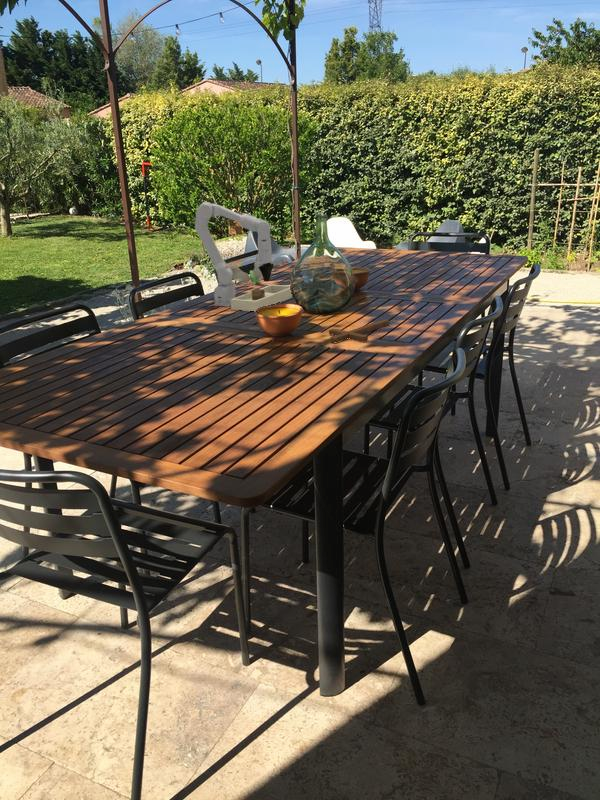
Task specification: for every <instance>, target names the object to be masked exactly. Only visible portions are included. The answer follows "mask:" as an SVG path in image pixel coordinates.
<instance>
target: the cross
mask: <svg viewBox="0 0 600 800" xmlns="http://www.w3.org/2000/svg"><path fill="white" fill-rule="evenodd" d="M389 325H390V320H389V319H381V320H378V321H375V322H372V323H370V324H365V325H363V326H360V327H357V328H354V329H352V330H348V331H347V330H343V329H337V328H331V329H329V330H328V335H329V334H333V335H336V336H331V337H330V338H329V340H330V341H331V342H338V341H341V340H344V339H347V338H350V339H349V340H351V339H354V340H353V341H356V340H358V341H357V342H361V341H363V342H362V343H365V342H364V341H366V342H368V341H369V335H367V334H366V332H367V333H369V331H370V332H373V331H375V329H376V330H378V329H381V328H384V327H387V326H389ZM372 330H373V331H372ZM363 333H364V334H363ZM347 340H348V339H347ZM367 340H368V341H367ZM344 341H345V340H344ZM331 342H330V343H331ZM341 342H342V341H341ZM338 343H339V342H338Z"/></svg>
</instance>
